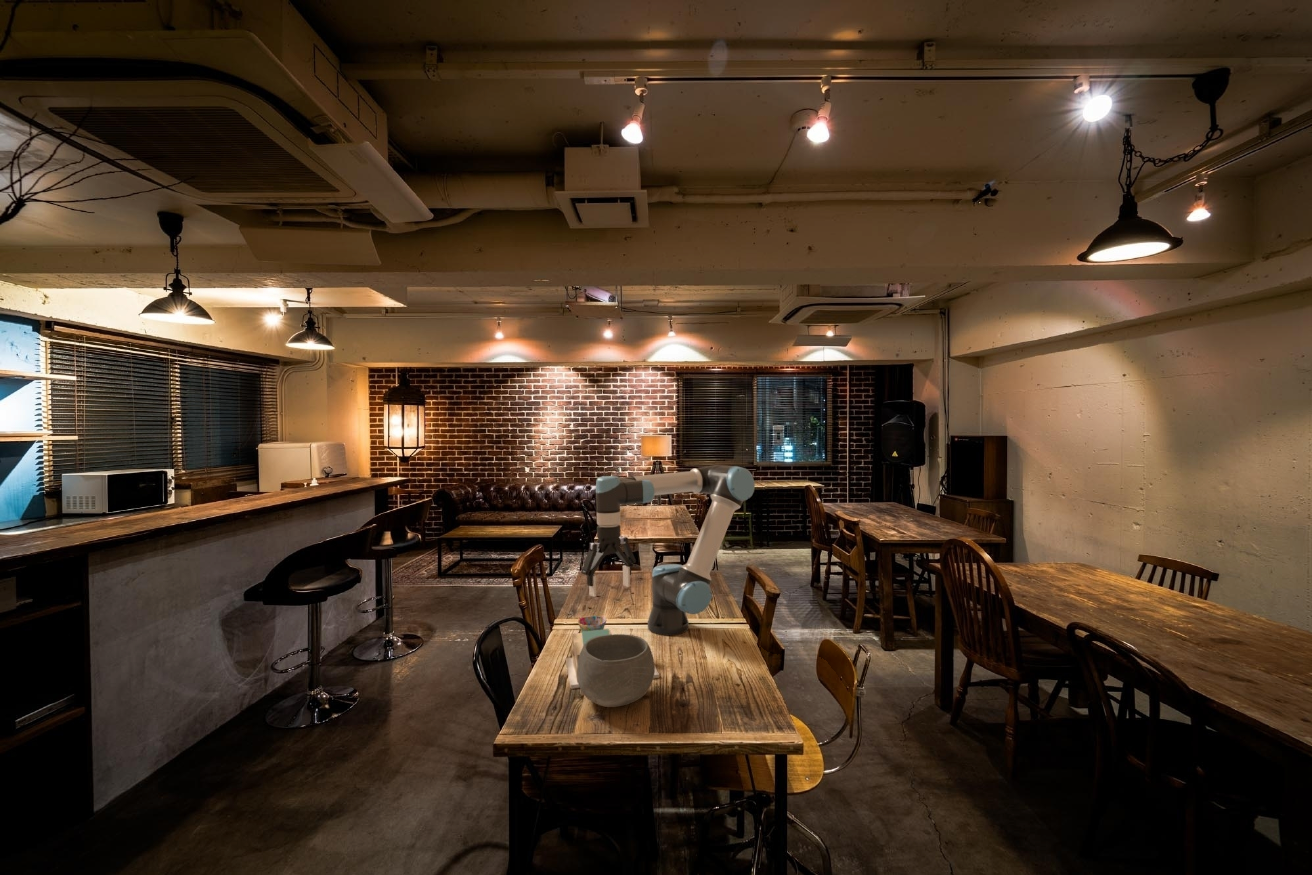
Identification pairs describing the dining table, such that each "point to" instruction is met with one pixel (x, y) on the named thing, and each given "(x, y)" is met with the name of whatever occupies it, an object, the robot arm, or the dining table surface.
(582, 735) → the dining table surface
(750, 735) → the dining table surface
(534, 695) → the dining table surface
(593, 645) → the bowl
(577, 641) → the block
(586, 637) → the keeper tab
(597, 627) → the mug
